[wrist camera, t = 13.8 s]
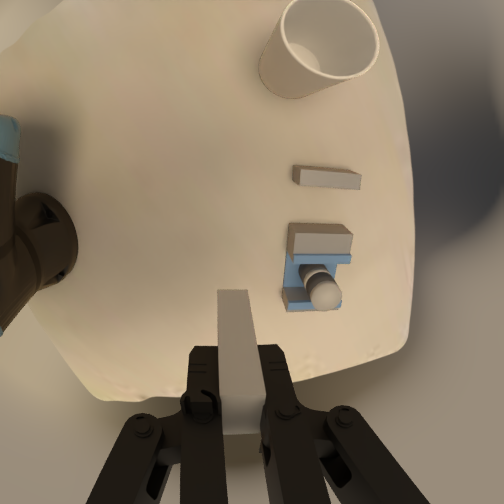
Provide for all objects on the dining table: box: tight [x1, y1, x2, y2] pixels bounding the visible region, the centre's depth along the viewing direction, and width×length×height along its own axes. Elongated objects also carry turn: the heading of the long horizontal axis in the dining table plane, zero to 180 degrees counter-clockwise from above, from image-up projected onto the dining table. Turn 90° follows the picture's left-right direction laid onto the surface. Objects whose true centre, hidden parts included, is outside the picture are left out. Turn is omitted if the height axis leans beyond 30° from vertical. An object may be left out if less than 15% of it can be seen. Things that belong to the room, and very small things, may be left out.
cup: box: [259, 0, 379, 99], centre depth 23 cm, size 8×8×16 cm
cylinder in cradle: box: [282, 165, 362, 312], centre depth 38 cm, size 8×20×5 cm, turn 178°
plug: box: [298, 264, 342, 311], centre depth 38 cm, size 4×4×8 cm
